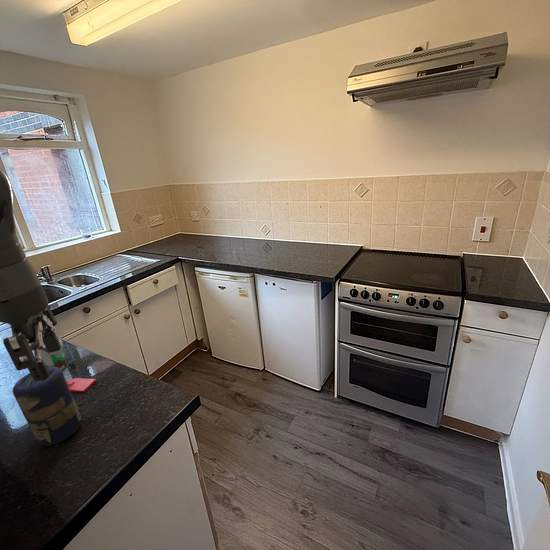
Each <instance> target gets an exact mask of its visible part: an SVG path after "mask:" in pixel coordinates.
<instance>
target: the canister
mask: <svg viewBox="0 0 550 550" xmlns="http://www.w3.org/2000/svg"><path fill="white" fill-rule="evenodd" d="M47 369H48V371H49V373H50V375H49V378H48V379H45V380H41V381H37V382H36V381H34V379H33V378H32V376H31V374H30V372H28V373H27V374H25V375H24V376H22V377H21V378H20V379H18V380H17V381H16V383H14V385H13V387H12V395H13V396H14V399H15V401H16V403H17V405H18V407H19V409H20V411H21V412H22V415H23V416H24V419H25V421H26V422H27V424H28V426H29V428H30V430H31V432H32V434H33V436H34V437H35V440H36V441H37V443H38V444H39V445H42V446H53V445H57V444H59V443H62V442H64V441H66V440H67V439H69V438H71V436H73V435H74V434H75V433H76V432H77V431H78V430H79V428H80V426H81V424H82V415H81V413H80V411H79V407H78V405H77V404H76V401H75V398H74V396H73V394H72V392H70V390H69V387H68V385H67V382H66V381H67V379H66V378H65V375H64V373H63V372H62V371H61V370H60V369H59V368H57V367H47Z"/></svg>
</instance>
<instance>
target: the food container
mask: <svg viewBox="0 0 550 550" xmlns="http://www.w3.org/2000/svg"><path fill="white" fill-rule="evenodd" d="M57 338H58V341H59V343H60V345H61V349H60V350H59V351H55V352H51V353H49V352H48V351H47V349H46V347H45V345H44V343H43V348H41V357H42V359H43V361H44V363H45V365H46V367H57V368H59V369H60V370H61V371H62V373H63V372H64V371H66V369H67V367H68V362H67V359H66V357H65V356H66V355H65V353H64V349H63V347H64V342H63V341H62V340H61V339H60V338H59V337H58V336H57ZM35 343H36V342H34V343H29V345H30V346H31V345H34V344H35ZM32 352H34V350H32Z"/></svg>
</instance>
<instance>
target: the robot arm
mask: <svg viewBox="0 0 550 550" xmlns="http://www.w3.org/2000/svg"><path fill="white" fill-rule="evenodd" d="M13 201H14V200H13V191H12V186H11V183H10V181H9V179H8V176H7V175H6V174H5V173H4V171H3V170H2V169H1V168H0V323H1V324H7V325H9V326H10V329H11V333H12V334H11V336H9V337H4V338H3V340H2V343H3V346H4V348H5V349H6V351H7V354H8V356H9V357H10V359H11V361H12V363H13V366H14V368H15V370H16V371H22V370H25V369H26V370H28V373H30V374H31V376H32V378H33V379H34V381H36V382H37V381H41V380H45V379H48V378H49V375H50V373H49V371H48V369H47V367H46V365H45V363H44V361H43V359H42V357H41V348H43V343H44V345H45V347H46V349H47V351H48V352H49V353H51V352H55V351H59V350H60V349H61V345H60V343H59V341H58V338H59V337H58V336H57V334H56V333H57V328H56V326H57V325H58V321H57V320H56V317H55V315H54V313H53V311H52V308H51V307H50V305H49V303H50V302H49V298H48V297H47V295H46V292H45V290H44V287H43V286H42V285H43V284H42V283H41V281H40V278H39V277H38V274H37V272H36V269H35V268H34V266H33V264H32V263H31V262H30V260H29V257H28V256H27V254H26V251H25V250H24V247H23V245H22V243H21V241H20V239H19V236H18V234H17V229H16V220H15V214H14V203H13ZM57 337H58V338H57ZM34 342H36V343H35V344H34V345H31V346H30V343H34ZM33 350H34V351H33Z"/></svg>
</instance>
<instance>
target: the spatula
mask: <svg viewBox="0 0 550 550" xmlns="http://www.w3.org/2000/svg"><path fill="white" fill-rule="evenodd" d="M66 382H67V385H68V387H69V390H70V392H71V393H86V392H87V391H88V390H89V389H91V387H92V386H93V385H94V384H95V383H96V382H97V378H81V377H74V378H72V379H71V380H66Z"/></svg>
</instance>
